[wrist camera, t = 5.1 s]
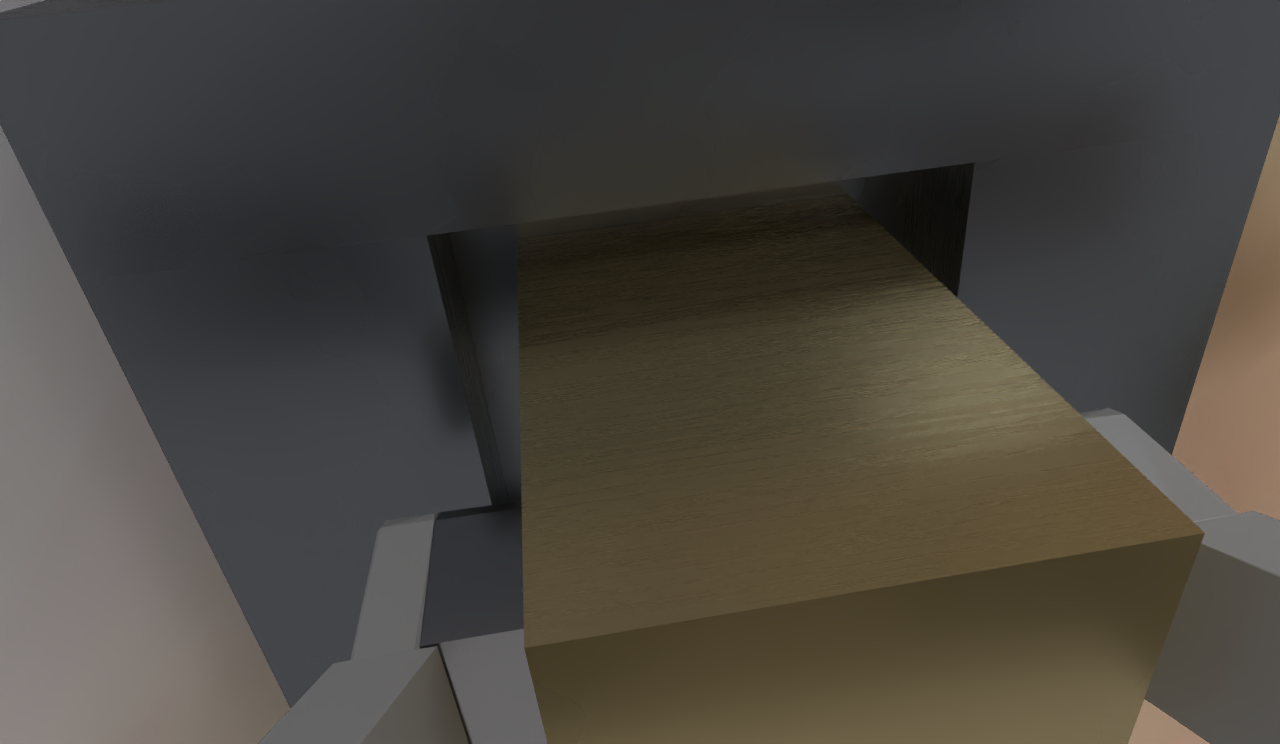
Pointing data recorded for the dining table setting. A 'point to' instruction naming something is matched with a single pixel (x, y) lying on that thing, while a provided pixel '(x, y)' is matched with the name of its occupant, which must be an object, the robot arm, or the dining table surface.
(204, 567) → the dining table surface
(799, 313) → the brass peg
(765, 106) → the peg hole board
